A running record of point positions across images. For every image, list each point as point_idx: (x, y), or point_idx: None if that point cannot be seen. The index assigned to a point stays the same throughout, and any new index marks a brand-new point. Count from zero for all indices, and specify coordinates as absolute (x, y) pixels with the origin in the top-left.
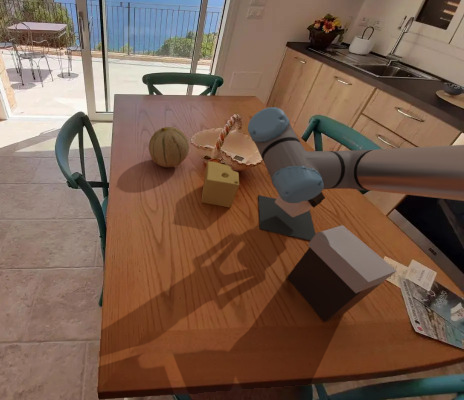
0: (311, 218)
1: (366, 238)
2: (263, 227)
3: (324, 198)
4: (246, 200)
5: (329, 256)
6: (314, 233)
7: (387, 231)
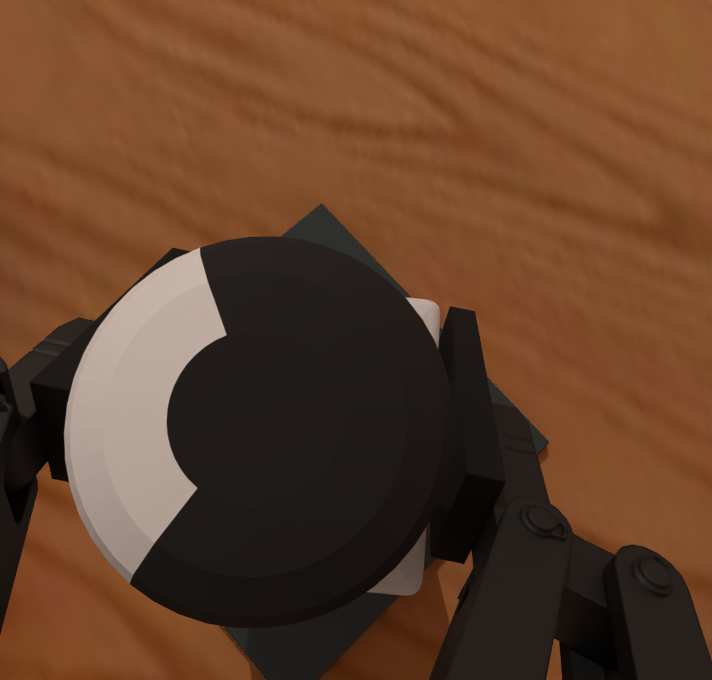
0: (406, 294)
1: (644, 160)
2: (295, 675)
3: (681, 594)
4: (38, 544)
5: None
6: (497, 396)
7: (658, 20)
